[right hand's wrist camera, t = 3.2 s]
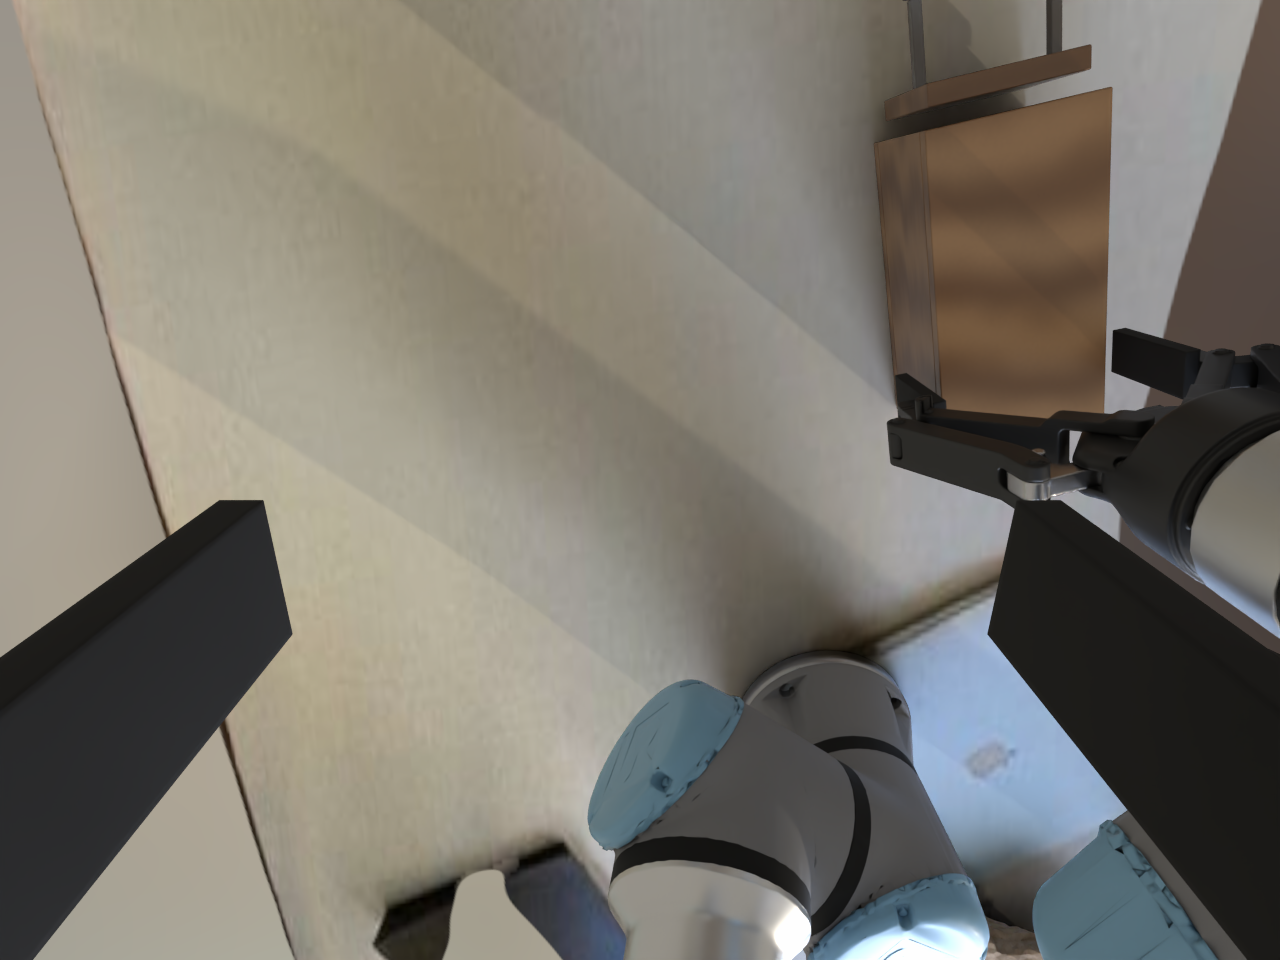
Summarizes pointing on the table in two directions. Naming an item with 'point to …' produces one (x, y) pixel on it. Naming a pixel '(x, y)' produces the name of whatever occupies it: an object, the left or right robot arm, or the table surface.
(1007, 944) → the stone
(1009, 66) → the wooden drawer
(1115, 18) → the table surface
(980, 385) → the wooden drawer box
